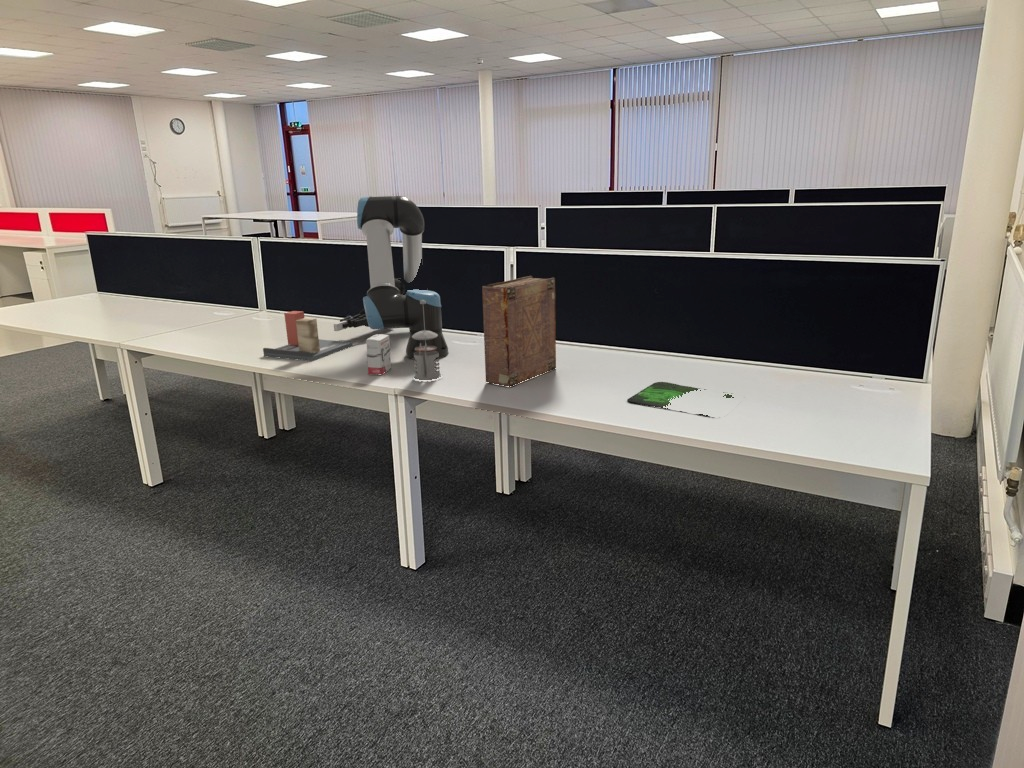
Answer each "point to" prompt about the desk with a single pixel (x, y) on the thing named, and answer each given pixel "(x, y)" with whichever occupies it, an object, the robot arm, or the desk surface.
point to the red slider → (292, 326)
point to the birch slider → (308, 335)
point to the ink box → (378, 354)
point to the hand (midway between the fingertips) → (335, 327)
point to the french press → (426, 355)
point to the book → (519, 329)
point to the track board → (294, 353)
